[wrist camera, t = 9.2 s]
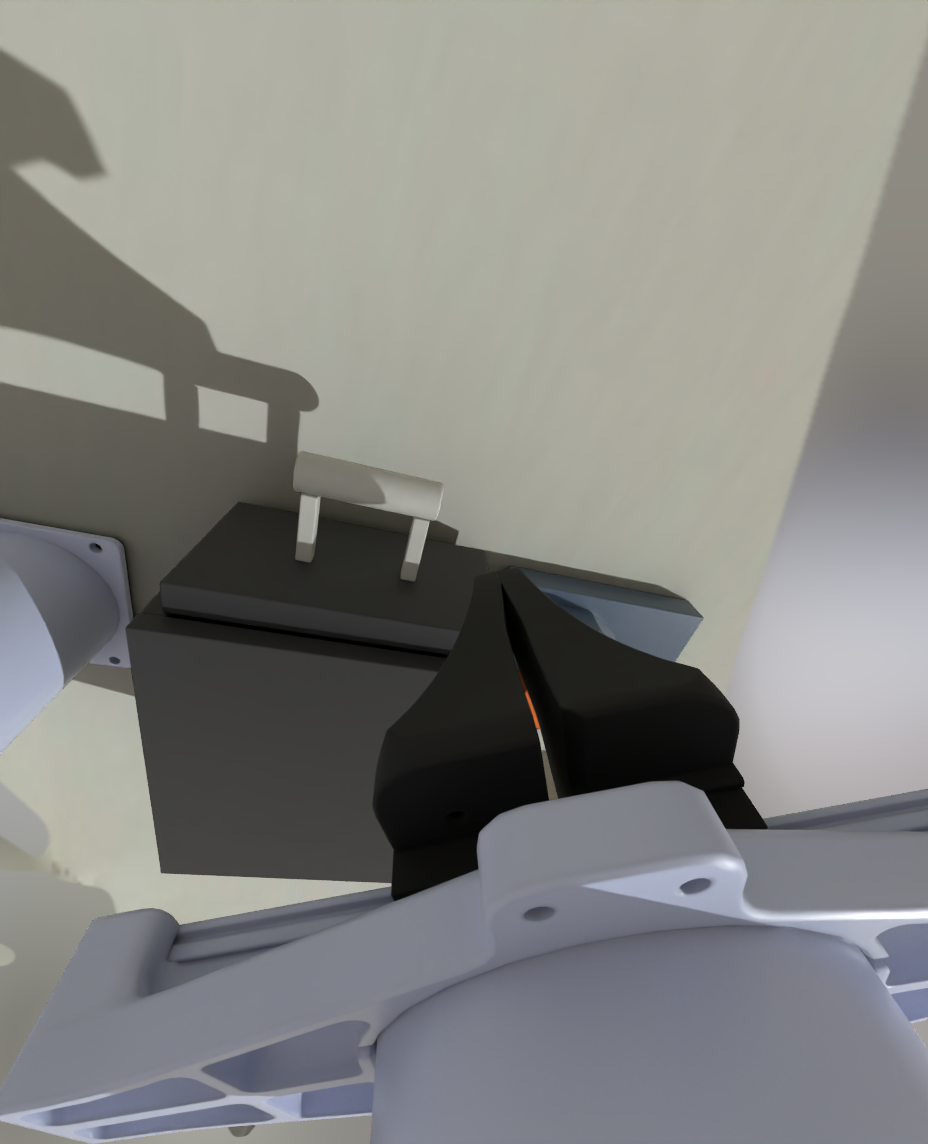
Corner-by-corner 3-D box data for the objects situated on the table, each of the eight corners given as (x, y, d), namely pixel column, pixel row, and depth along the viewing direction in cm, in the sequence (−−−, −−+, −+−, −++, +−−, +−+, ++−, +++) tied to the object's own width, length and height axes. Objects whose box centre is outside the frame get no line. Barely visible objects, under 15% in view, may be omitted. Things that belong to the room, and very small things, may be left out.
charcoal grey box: (231, 514, 21) (123, 627, 13) (486, 564, 23) (516, 683, 16) (231, 723, 28) (160, 873, 20) (427, 744, 30) (428, 885, 23)
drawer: (239, 406, 17) (146, 453, 12) (509, 471, 20) (546, 539, 14) (236, 710, 26) (181, 827, 20) (425, 731, 28) (426, 842, 22)
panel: (463, 686, 27) (468, 732, 24) (506, 564, 23) (519, 602, 20) (621, 707, 30) (644, 752, 27) (688, 600, 25) (724, 639, 22)
